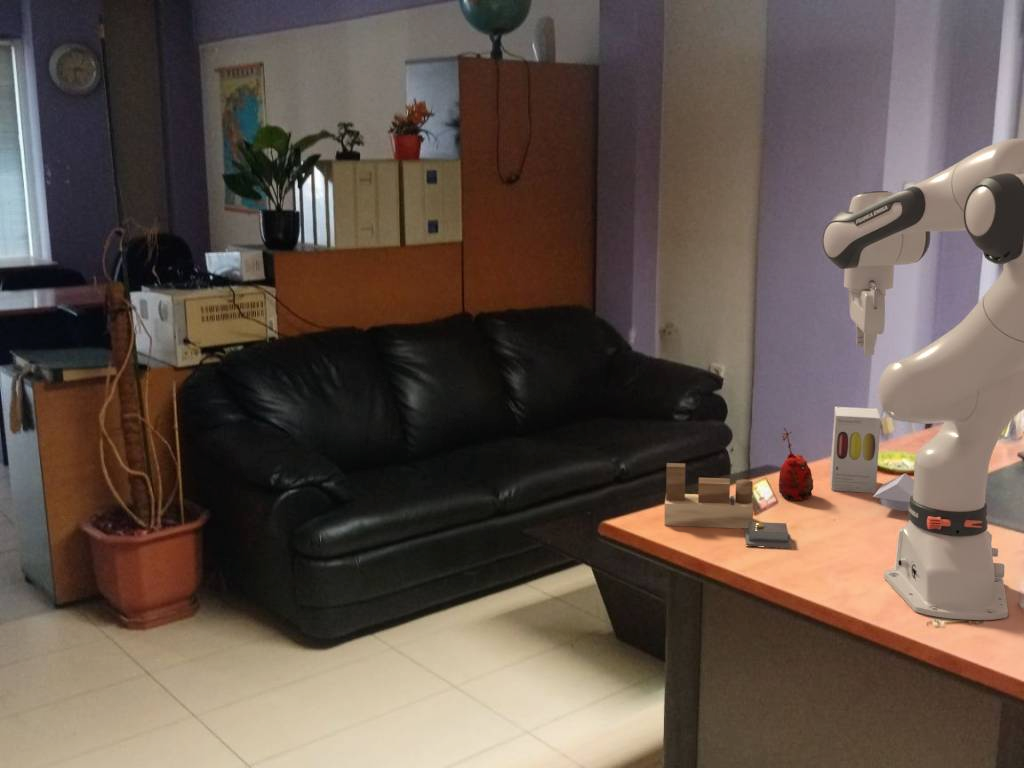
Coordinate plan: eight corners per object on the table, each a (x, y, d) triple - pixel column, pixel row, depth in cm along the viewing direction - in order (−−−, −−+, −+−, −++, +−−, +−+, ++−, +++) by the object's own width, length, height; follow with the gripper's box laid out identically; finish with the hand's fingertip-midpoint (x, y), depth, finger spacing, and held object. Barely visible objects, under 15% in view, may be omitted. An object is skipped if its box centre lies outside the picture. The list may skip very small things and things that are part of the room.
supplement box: (830, 491, 221) (833, 415, 217) (829, 478, 230) (832, 405, 226) (877, 493, 218) (881, 417, 215) (874, 481, 227) (878, 407, 224)
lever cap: (787, 542, 190) (787, 529, 189) (748, 540, 191) (749, 527, 191) (785, 533, 195) (786, 520, 194) (748, 531, 196) (748, 518, 196)
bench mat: (790, 548, 189) (790, 545, 188) (746, 546, 190) (746, 543, 190) (787, 533, 196) (787, 530, 196) (745, 531, 198) (745, 528, 198)
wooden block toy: (752, 528, 199) (754, 472, 197) (664, 525, 202) (664, 469, 200) (751, 517, 205) (752, 462, 203) (665, 514, 209) (666, 460, 206)
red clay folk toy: (806, 504, 213) (808, 434, 210) (772, 499, 216) (774, 430, 213) (816, 494, 219) (818, 426, 216) (783, 489, 223) (786, 422, 220)
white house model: (918, 519, 202) (930, 501, 213) (920, 487, 201) (932, 470, 212) (871, 512, 207) (885, 494, 218) (873, 481, 206) (887, 464, 216)
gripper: (895, 284, 183) (891, 360, 186) (878, 272, 202) (874, 341, 205) (858, 284, 184) (854, 360, 187) (844, 272, 204) (841, 341, 206)
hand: (864, 350), depth 196 cm, fingers open, 8 cm apart
